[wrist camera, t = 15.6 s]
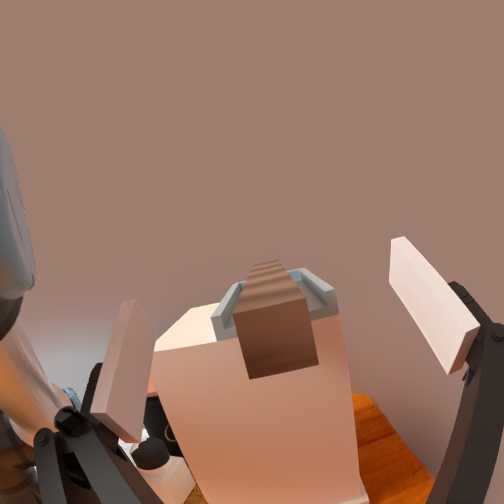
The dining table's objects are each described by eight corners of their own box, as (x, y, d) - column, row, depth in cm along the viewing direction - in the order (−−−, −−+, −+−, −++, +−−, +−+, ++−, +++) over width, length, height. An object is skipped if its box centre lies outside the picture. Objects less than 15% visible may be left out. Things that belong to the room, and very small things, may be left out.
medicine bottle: (197, 484, 41) (173, 435, 41) (180, 509, 34) (151, 460, 34) (164, 478, 43) (139, 431, 43) (145, 501, 36) (116, 453, 36)
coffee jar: (182, 475, 44) (147, 398, 44) (151, 457, 51) (119, 385, 50) (220, 447, 52) (193, 373, 52) (187, 434, 59) (161, 366, 59)
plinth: (369, 507, 28) (352, 313, 27) (214, 532, 29) (131, 357, 28) (337, 424, 52) (312, 280, 51) (229, 445, 53) (186, 308, 52)
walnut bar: (319, 364, 16) (305, 297, 16) (249, 379, 16) (232, 313, 16) (283, 284, 48) (278, 259, 48) (258, 290, 48) (253, 265, 48)
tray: (339, 313, 28) (334, 288, 28) (216, 341, 29) (210, 317, 29) (306, 281, 51) (303, 267, 51) (236, 297, 52) (233, 283, 52)
